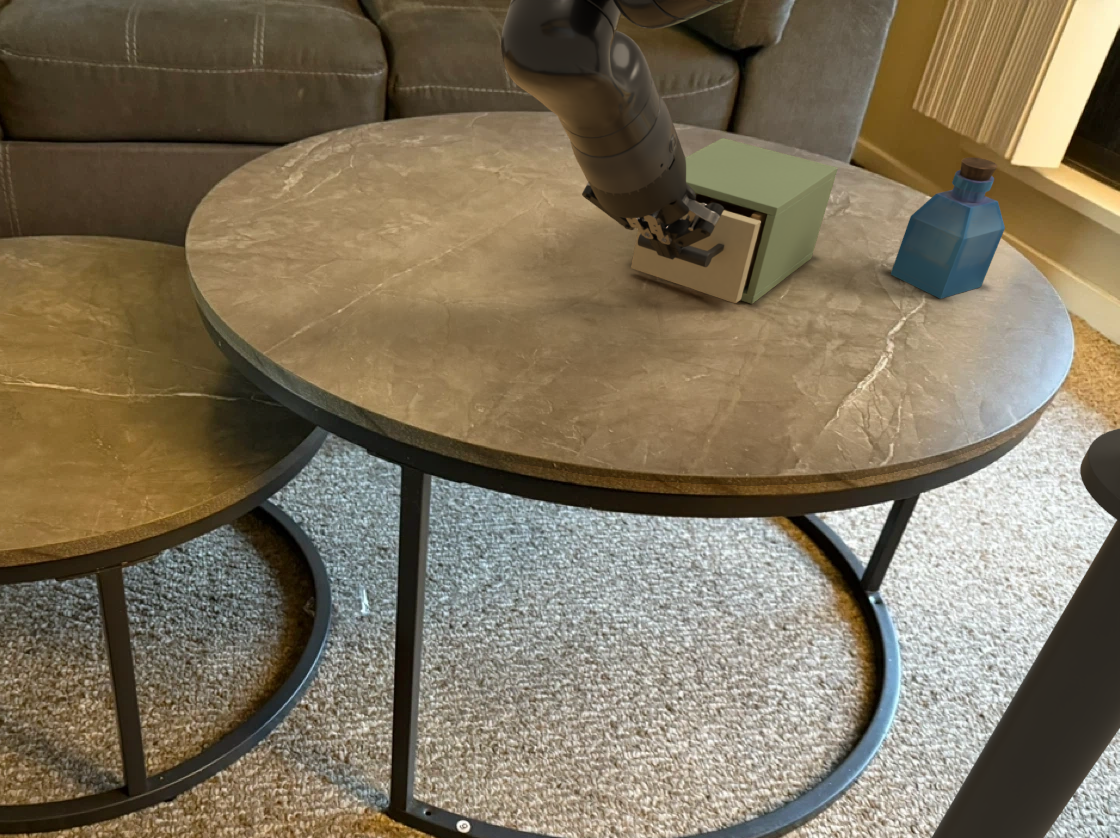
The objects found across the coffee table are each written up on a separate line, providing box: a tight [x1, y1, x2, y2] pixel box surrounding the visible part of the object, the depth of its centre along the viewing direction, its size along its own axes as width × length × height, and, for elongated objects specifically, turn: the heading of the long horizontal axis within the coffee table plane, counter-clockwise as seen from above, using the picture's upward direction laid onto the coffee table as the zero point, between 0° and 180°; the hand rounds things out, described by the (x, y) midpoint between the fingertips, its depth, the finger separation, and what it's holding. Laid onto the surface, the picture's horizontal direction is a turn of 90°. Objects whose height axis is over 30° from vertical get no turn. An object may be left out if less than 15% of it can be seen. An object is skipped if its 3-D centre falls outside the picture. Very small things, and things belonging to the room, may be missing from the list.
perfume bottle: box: [890, 157, 1006, 300], centre depth 104 cm, size 6×6×12 cm
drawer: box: [630, 193, 768, 304], centre depth 104 cm, size 18×11×8 cm, turn 141°
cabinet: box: [685, 137, 839, 305], centre depth 107 cm, size 15×13×10 cm
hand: (671, 248), depth 97 cm, fingers closed
